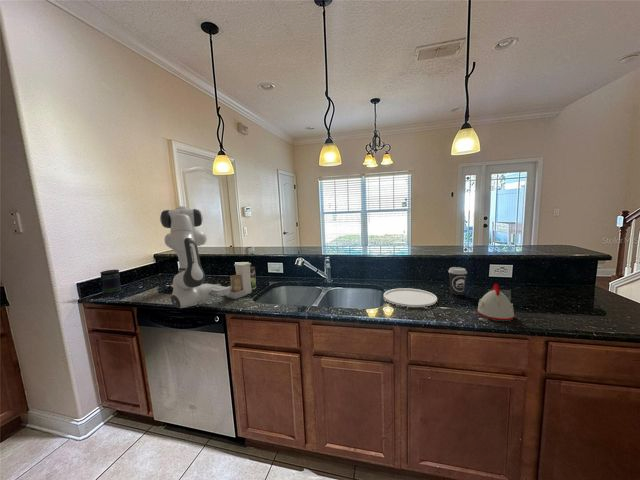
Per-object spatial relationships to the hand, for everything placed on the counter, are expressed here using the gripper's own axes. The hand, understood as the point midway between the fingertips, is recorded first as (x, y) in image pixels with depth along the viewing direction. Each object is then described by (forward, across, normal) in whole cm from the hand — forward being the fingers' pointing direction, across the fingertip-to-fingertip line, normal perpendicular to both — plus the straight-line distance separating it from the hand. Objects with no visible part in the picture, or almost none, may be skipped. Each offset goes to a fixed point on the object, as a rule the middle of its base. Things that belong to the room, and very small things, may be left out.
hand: (225, 286), depth 154 cm
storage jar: (-27, +82, +8) cm, 86 cm away
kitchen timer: (+44, -132, +9) cm, 140 cm away
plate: (+49, -93, +9) cm, 105 cm away
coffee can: (+22, +6, +8) cm, 25 cm away
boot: (+9, 0, +8) cm, 13 cm away
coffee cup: (+70, -114, +9) cm, 134 cm away
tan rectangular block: (+8, 0, +8) cm, 11 cm away
